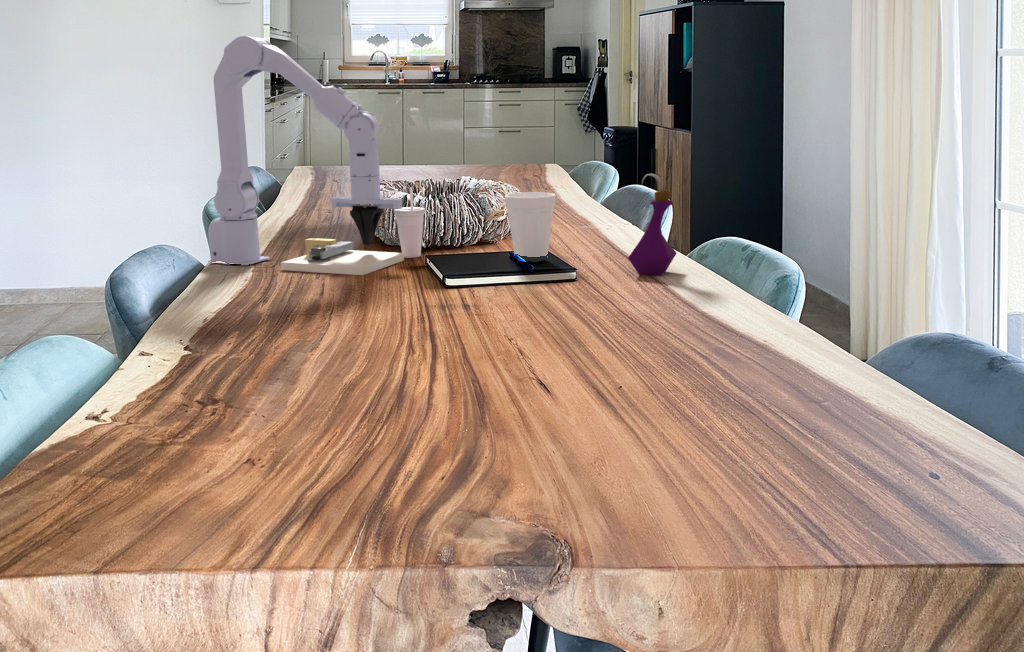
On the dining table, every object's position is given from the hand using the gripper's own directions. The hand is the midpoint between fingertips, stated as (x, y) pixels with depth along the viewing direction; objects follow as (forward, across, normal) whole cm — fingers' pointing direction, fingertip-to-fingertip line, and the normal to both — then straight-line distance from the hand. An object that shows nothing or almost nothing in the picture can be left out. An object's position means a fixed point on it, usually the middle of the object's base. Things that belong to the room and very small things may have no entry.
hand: (368, 244), depth 201 cm
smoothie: (+3, -6, -7) cm, 10 cm away
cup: (+3, -32, -6) cm, 33 cm away
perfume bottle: (+3, -57, 0) cm, 57 cm away
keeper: (+2, +8, +5) cm, 9 cm away
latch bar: (+1, +6, +4) cm, 7 cm away
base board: (+3, +3, +5) cm, 7 cm away
